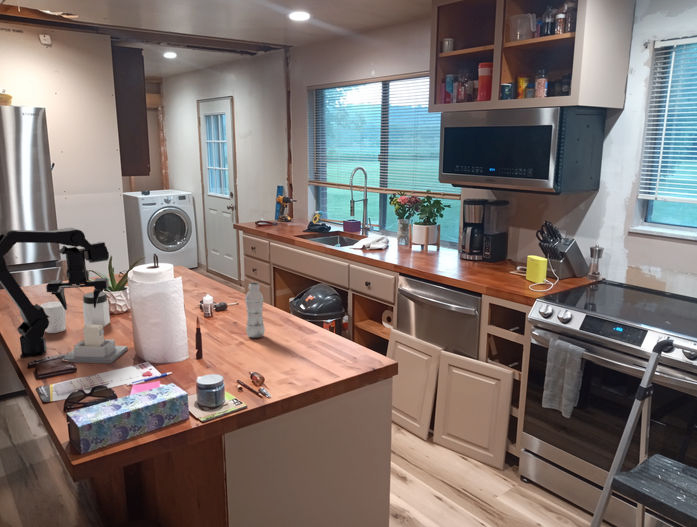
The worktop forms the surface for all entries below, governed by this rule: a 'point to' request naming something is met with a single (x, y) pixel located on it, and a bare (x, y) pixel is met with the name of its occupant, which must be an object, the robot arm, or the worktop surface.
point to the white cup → (55, 316)
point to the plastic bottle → (254, 311)
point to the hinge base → (95, 359)
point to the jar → (96, 309)
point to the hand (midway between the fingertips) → (80, 308)
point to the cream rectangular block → (93, 335)
